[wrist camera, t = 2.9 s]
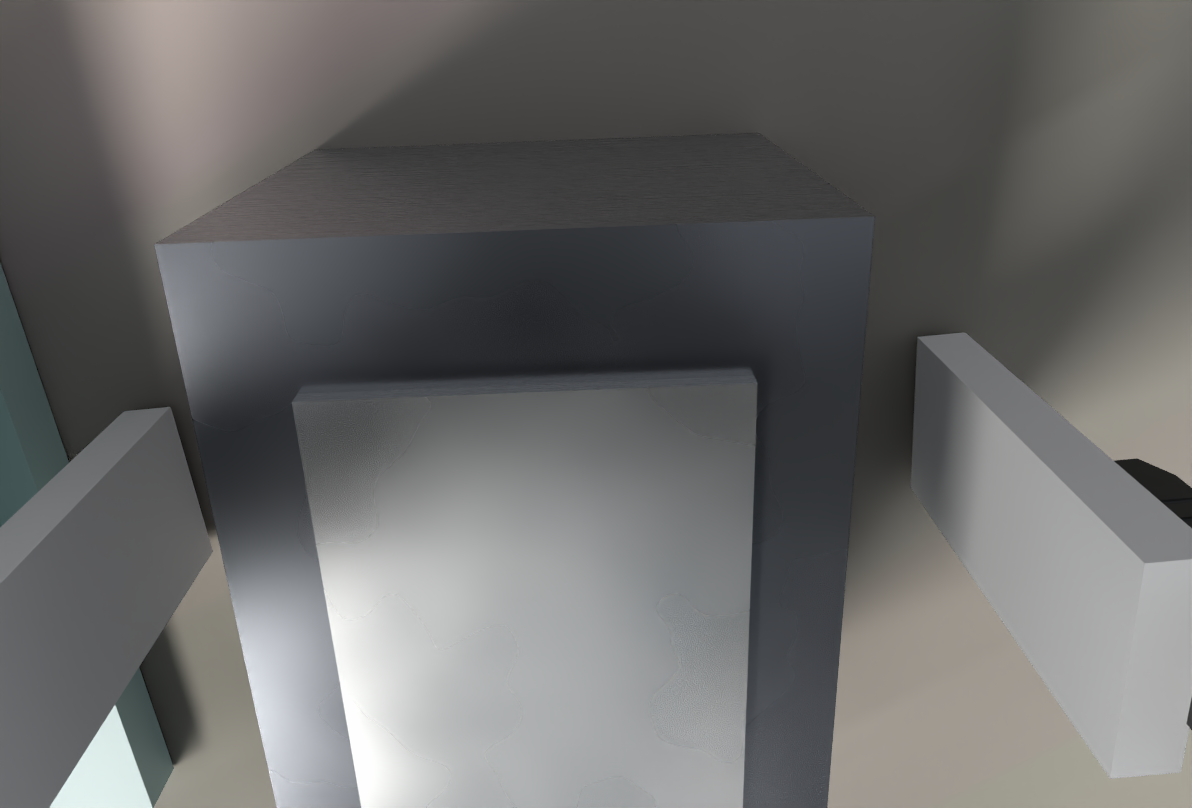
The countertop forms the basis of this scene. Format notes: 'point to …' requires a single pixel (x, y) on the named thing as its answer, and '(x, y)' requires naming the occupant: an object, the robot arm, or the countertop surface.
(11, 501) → the pin tray
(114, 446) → the robot arm
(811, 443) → the block
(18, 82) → the countertop surface
